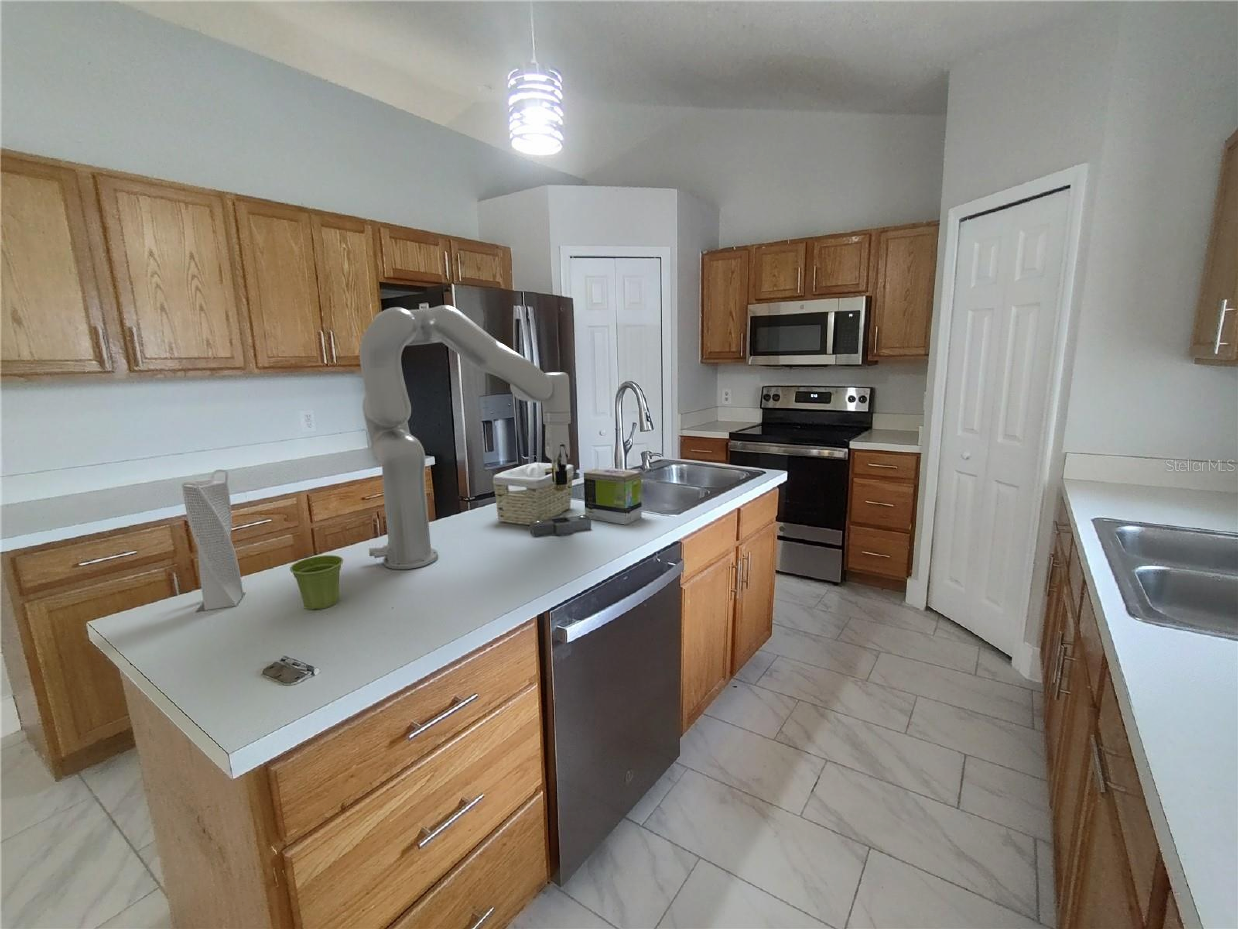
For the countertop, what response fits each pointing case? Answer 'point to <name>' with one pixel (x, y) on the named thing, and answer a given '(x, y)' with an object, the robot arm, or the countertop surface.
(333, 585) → the plant pot
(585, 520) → the grey metal bracket
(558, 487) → the brass pin
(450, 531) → the countertop surface
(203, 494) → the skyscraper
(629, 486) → the tea box
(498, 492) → the storage basket
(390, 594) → the countertop surface
